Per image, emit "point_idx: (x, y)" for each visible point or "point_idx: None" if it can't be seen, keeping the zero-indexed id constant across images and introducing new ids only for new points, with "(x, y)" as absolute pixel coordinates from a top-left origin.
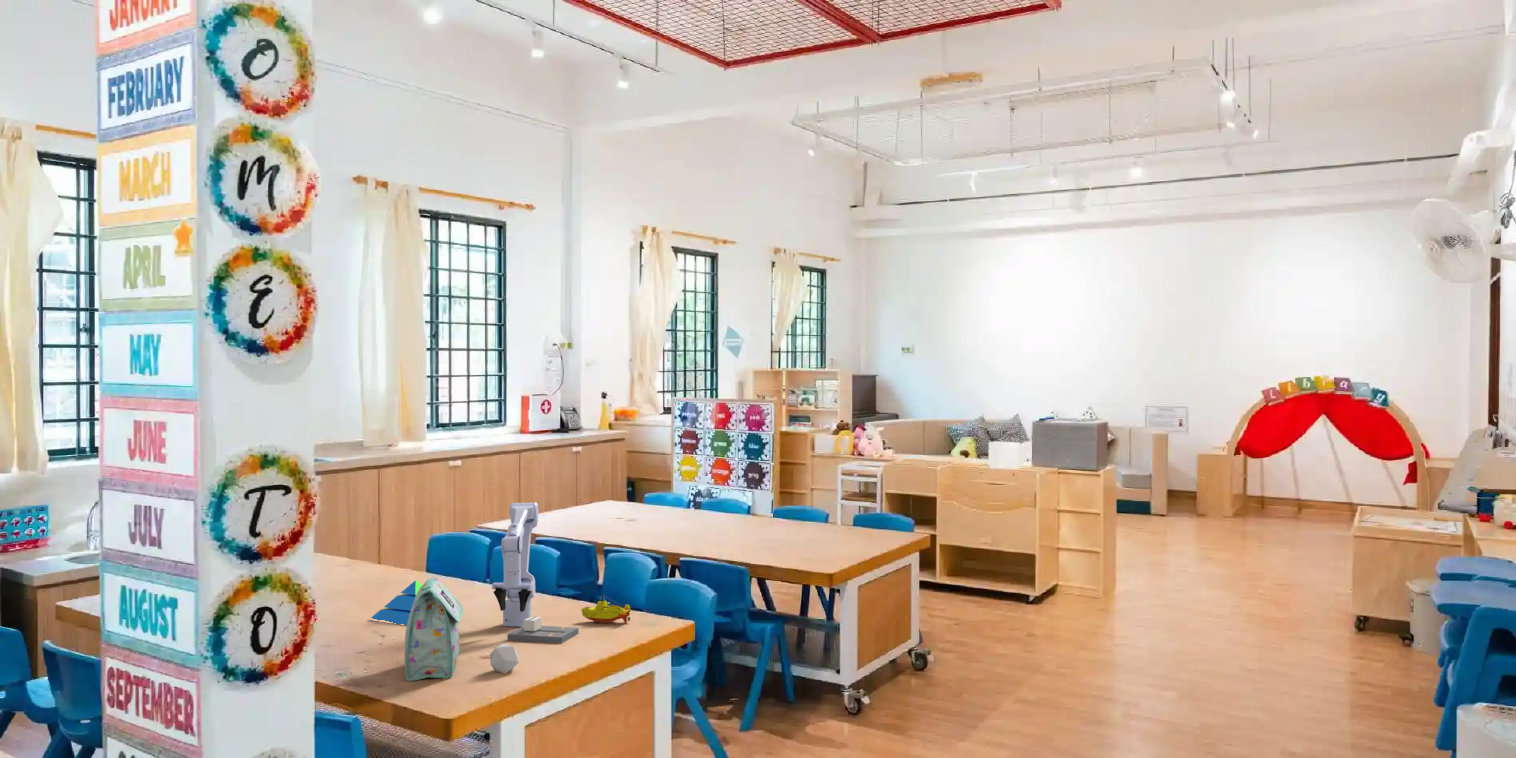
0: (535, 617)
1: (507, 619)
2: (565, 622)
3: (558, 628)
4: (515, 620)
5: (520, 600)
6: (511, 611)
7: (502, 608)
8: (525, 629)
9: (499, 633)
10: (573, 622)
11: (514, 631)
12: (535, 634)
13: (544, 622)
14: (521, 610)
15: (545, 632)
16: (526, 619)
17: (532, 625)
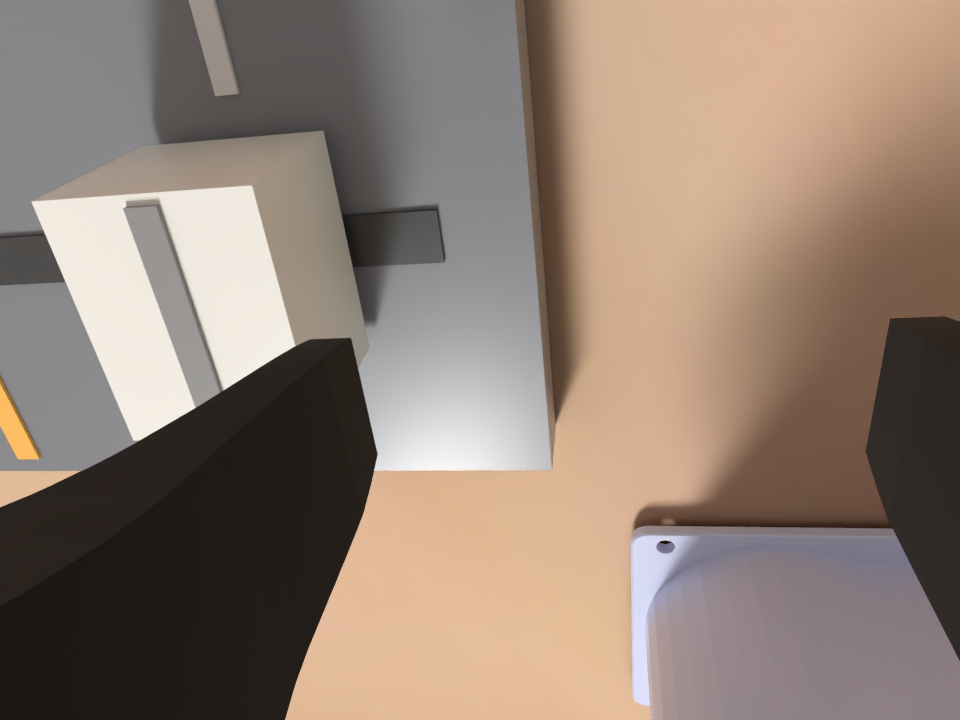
0: (194, 399)
1: (934, 613)
2: (358, 708)
3: (45, 400)
4: (794, 591)
5: (138, 484)
6: (904, 709)
7: (911, 354)
8: (289, 140)
9: (862, 220)
10: (293, 713)
11: (490, 96)
12: (40, 25)
13: (548, 693)
14: (299, 344)
15: (15, 184)
16: (237, 243)
17: (126, 170)
